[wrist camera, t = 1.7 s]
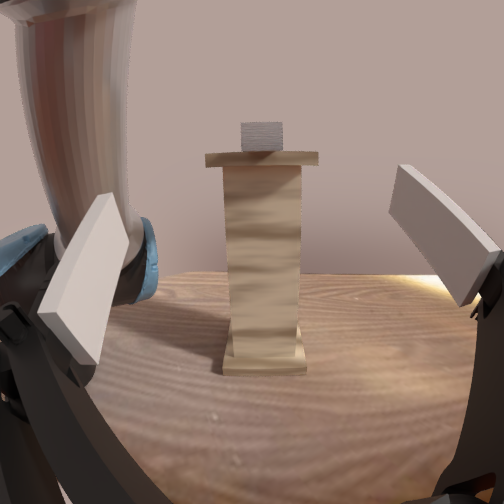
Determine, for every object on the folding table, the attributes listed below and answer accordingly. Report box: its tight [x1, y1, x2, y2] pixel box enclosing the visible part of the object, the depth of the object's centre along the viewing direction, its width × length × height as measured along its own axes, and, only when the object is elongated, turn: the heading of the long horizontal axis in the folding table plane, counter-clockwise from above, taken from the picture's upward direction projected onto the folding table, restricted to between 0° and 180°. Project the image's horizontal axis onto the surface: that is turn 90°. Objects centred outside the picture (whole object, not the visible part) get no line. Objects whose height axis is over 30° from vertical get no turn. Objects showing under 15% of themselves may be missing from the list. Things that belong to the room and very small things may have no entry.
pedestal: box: [205, 151, 318, 376], centre depth 41 cm, size 14×12×30 cm
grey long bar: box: [241, 122, 283, 152], centre depth 30 cm, size 24×5×3 cm, turn 178°
